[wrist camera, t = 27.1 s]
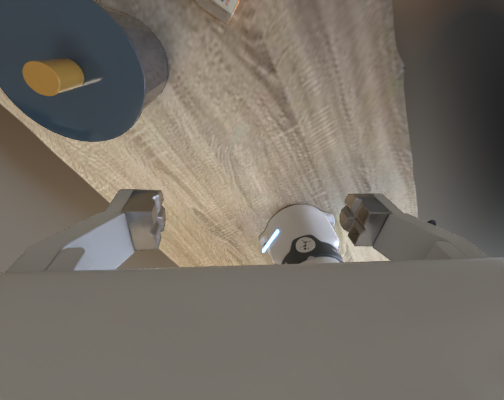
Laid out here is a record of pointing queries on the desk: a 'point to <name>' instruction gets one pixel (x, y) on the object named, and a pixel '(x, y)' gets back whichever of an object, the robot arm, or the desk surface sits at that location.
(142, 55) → the canister
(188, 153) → the desk surface
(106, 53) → the lid
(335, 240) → the robot arm
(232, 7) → the supplement box
